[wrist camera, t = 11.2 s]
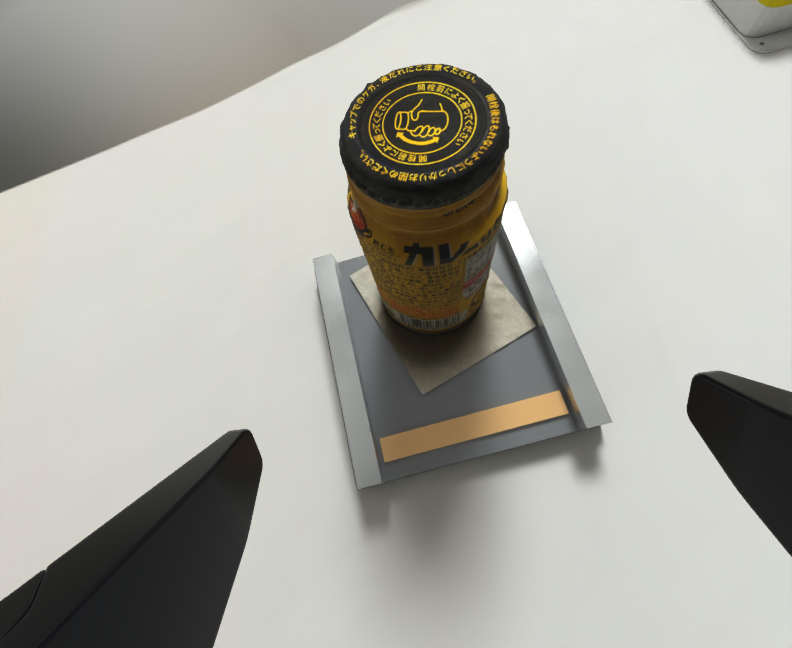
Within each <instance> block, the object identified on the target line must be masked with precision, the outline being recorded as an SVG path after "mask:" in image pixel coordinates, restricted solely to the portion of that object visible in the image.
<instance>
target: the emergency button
mask: <svg viewBox="0 0 792 648" xmlns="http://www.w3.org/2000/svg"><path fill="white" fill-rule="evenodd" d="M708 1H709V2H710V3H711V4H712V5H713V7H714V8H715V9H716V10H717V11H718V13H719V14H720V15H721V16H722V18H723V19H724V20H725V21H726V22H727V24H728V25H729V26H730V27H731V28H732V30H733V31H734V32H735V33H736V34H737V36H738V37H739V38H740V39H741V40H742V42H743V43H744V44H745V45H746V46H747V47H748V48H750V49H751V50H752V51H756V52H759V53H767V52H772V51H775V50H779V49H782V48H786V47H790V46H792V0H708Z"/></svg>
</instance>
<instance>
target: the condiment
mask: <svg viewBox="0 0 792 648" xmlns="http://www.w3.org/2000/svg"><path fill="white" fill-rule="evenodd" d="M509 129H510V127H509V126H508V122H507V115H506V111H505V105H504V103H503V101H502V100H501V99H500V97H499V96H498V94H497V93H496V92H495V91H494V90H493V88H492V87H491V86H490V85H489V84H487V83H486V82H485V81H484V80H483V79H481V78H479V77H478V76H477V75H476V74H474V73H471V72H469V71H465V70H461V69H459V68H456V67H453V66H450V65H444V64H425V65H423V64H421V65H415V66H410V67H406V68H401V69H397V70H394V71H392V72H390V73H389V74H387V75H384V76H381V77H380V78H379V79H377V80H376V81H374V82H373V83H367V85H366V87H365V89H364V90H363V91H362V92H361V93H360V94H359V95H358V96H357V97H356V98H355V99H354V100H353V101H352V103H351V104H350V107H349V109H348V111H347V112H346V115H345V118H344V120H343V121H342V123H341V125H340V140H339V147H340V155H341V158H342V163H343V165H344V167H345V170H346V172H347V178H348V183H349V185H348V195H347V200H348V210H349V214H350V217H351V219H352V223H353V226H354V229H355V231H356V234H357V236H358V239H359V242H360V245H361V246H362V249H363V252H364V255H365V257H366V259H367V262H368V265H367V266H365V267H364V268H362V269H360V270H358V271H357V272H355V273H353V274H352V275H350V277H351V279H352V280H353V282H354V284H355V285H356V287H357V289H358V290H359V292H360V294H361V295H362V297H363V298H364V300H365V302H366V303H367V305H368V307H369V308H370V310H371V312H372V313H373V315H374V317H375V318H376V320H377V321H378V323H379V325H380V326H381V328H382V330H383V331H384V333H385V335H386V336H387V338H388V339H389V341H390V343H391V344H392V346H393V348H394V349H395V351H396V353H397V354H398V356H399V357H400V359H401V361H402V362H403V364H404V366H405V367H406V369H407V371H408V372H409V374H410V375H411V377H412V379H413V380H414V382H415V384H416V385H417V387H418V388H419V390H420V392H421V393H422V395H423V394H425V393H427V392H429V391H430V390H432V389H434V388H435V387H437V386H439V385H441V384H442V383H444V382H445V381H447V380H449V379H450V378H452V377H454V376H455V375H457V374H458V373H460V372H462V371H464V370H466V369H467V368H469V367H470V366H472V365H474V364H475V363H477V362H479V361H480V360H482V359H483V358H485V357H487V356H489V355H491V354H492V353H493V352H495V351H496V350H498V349H500V348H501V347H503V346H505V345H506V344H508V343H510V342H511V341H513V340H515V339H516V338H518V337H519V336H521V335H522V334H524V333H526V332H527V331H529V330H531V329H532V328H534V327H536V325H535V323H534V322H533V321H532V320H531V318H530V317H529V315H528V314H527V313H526V312H525V310H524V309H523V308H522V307H521V306H520V304H519V303H518V302H517V300H516V299H515V297H514V296H513V295H512V294H511V293H510V292H509V290H508V289H507V288H506V286H505V285H504V284H503V282H502V281H501V280H500V279H499V278H498V276H497V275H496V274H495V273H494V271H493V270H492V269H491V262H492V259H493V256H494V251H495V246H496V242H497V240H498V234H499V230H500V227H501V223H502V219H503V213H504V209H505V205H506V202H507V199H508V188H507V177H506V174H505V171H504V166H505V160H504V157H505V155H504V154H505V152H506V150H507V149H508V148H509ZM481 309H482V312H480V311H481ZM481 317H482V318H481Z"/></svg>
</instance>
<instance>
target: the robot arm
mask: <svg viewBox="0 0 792 648" xmlns="http://www.w3.org/2000/svg"><path fill="white" fill-rule="evenodd" d="M687 414H688V417H689V419H690V421H691V422H692V424H693V425H694V427H695V428H696V430H697V431H698V433H699V434H700V436H701V437H702V439H703V440H704V442H705V443H706V445H707V446H708V448H709V449H710V451H711V452H712V454H713V455H714V457H715V458H716V460H717V461H718V463H719V464H720V466H721V467H722V469H723V470H724V472H725V473H726V475H727V476H728V478H729V479H730V480H731V482H732V483H733V485H734V486H735V487H736V489H737V490H738V491H739V493H740V494H741V495H742V497H743V498H744V499H745V500H746V502H747V503H748V504H749V505H750V507H751V508H752V509H753V510H754V512H755V513H756V514H757V515H758V516H759V518H760V519H761V520H762V521H763V523H764V524H765V525H766V526H767V527H768V529H769V530H770V531H771V532H772V534H773V535H774V536H775V537H776V538H777V540H778V541H779V542H780V543H781V545H782V546H783V547H784V548H785V550H786V551H787V552H788V553H789V554H790V556H791V557H792V392H790V391H786V390H783V389H780V388H776V387H773V386H770V385H766V384H763V383H760V382H757V381H753V380H750V379H747V378H743V377H740V376H737V375H733V374H730V373H727V372H723V371H710V372H702V373H698V374H696V375H694V377H693V378H692V382H691V387H690V392H689V398H688V403H687ZM262 465H263V464H262V458H261V455H260V452H259V450H258V447H257V445H256V442H255V440H254V437H253V435H252V433H251V432H250V430H248V429H241V430H233V431H229V432H227V433H226V434H224V435H223V436H222V437H220V438H219V439H218V440H216V441H215V442H213V443H212V444H211V445H209V446H208V447H207V448H205V449H204V450H203V451H201V452H200V453H199V454H197V455H196V456H195V457H193V458H192V459H191V460H189V461H188V462H187V463H185V464H184V465H183V466H181V467H180V468H179V469H177V470H176V471H175V472H173V473H172V474H171V475H169V476H168V477H167V478H165V479H164V480H163V481H161V482H160V483H159V484H157V485H156V486H155V487H153V488H152V489H151V490H149V491H148V492H147V493H145V494H144V495H142V496H141V497H140V498H138V499H137V500H136V501H134V502H133V503H132V504H130V505H129V506H128V507H126V508H125V509H124V510H122V511H121V512H120V513H118V514H117V515H116V516H114V517H113V518H112V519H110V520H109V521H108V522H106V523H105V524H104V525H102V526H101V527H100V528H98V529H97V530H96V531H94V532H93V533H92V534H90V535H89V536H88V537H86V538H85V539H84V540H82V541H81V542H80V543H78V544H77V545H75V546H74V547H73V548H71V549H70V550H69V551H67V552H66V553H65V554H63V555H62V556H61V557H59V558H58V559H57V560H55V561H54V562H53V563H51V564H50V565H49V566H48V567H47V569H46V570H42V571H40V572H39V573H38V574H36V575H35V576H34V577H32V578H31V579H30V580H28V581H27V582H26V583H24V584H23V585H22V586H20V587H19V588H18V589H16V590H15V591H14V592H12V593H11V594H10V595H8V596H7V597H6V598H4V599H3V600H1V601H0V648H213V646H214V643H215V639H216V636H217V633H218V630H219V627H220V624H221V621H222V618H223V614H224V611H225V608H226V605H227V602H228V599H229V596H230V593H231V589H232V586H233V583H234V580H235V577H236V574H237V571H238V567H239V564H240V561H241V558H242V555H243V552H244V548H245V545H246V542H247V538H248V534H249V529H250V525H251V520H252V515H253V511H254V506H255V501H256V496H257V492H258V487H259V482H260V477H261V473H262Z"/></svg>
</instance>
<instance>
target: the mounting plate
mask: <svg viewBox="0 0 792 648" xmlns="http://www.w3.org/2000/svg"><path fill="white" fill-rule="evenodd" d="M337 264H338V268H339V273H340V277H341V282H342V286H343V291H344V295H345V300H346V305H347V309H348V314H349V318H350V323H351V327H352V332H353V336H354V341H355V345H356V350H357V354H358V359H359V363H360V368H361V373H362V377H363V382H364V386H365V391H366V395H367V400H368V404H369V409H370V413H371V418H372V422H373V427H374V432H375V436H376V441H377V445H378V450H379V454H380V459H381V463H382V468H383V472H384V477H385V481H390V480H394V479H398V478H401V477H405V476H409V475H413V474H417V473H420V472H424V471H428V470H432V469H435V468H439V467H443V466H447V465H451V464H454V463H458V462H462V461H466V460H469V459H473V458H477V457H481V456H484V455H488V454H492V453H496V452H500V451H503V450H507V449H511V448H515V447H518V446H522V445H526V444H530V443H533V442H537V441H541V440H545V439H549V438H552V437H556V436H560V435H564V434H567V433H571V432H575V431H579V430H578V427H577V425H576V422H575V420H574V417H573V415H572V413H571V410H570V408H569V405H568V403H567V400H566V398H565V395H564V393H563V390H562V388H561V385H560V383H559V380H558V378H557V375H556V373H555V371H554V368H553V366H552V363H551V361H550V358H549V356H548V353H547V351H546V348H545V346H544V343H543V341H542V338H541V336H540V334H539V331H538V329H537V326H536V327H534V328H532V329H531V330H529V331H527V332H526V333H524V334H522V335H521V336H519V337H518V338H516V339H515V340H513V341H511V342H510V343H508V344H506V345H505V346H503V347H501V348H500V349H498V350H496V351H495V352H493V353H492V354H491V355H489V356H487V357H485V358H483V359H482V360H480V361H479V362H477V363H475V364H474V365H472V366H470V367H469V368H467V369H466V370H464V371H462V372H460V373H458V374H457V375H455V376H454V377H452V378H450V379H449V380H447V381H445V382H444V383H442V384H441V385H439V386H437V387H435V388H434V389H432V390H430V391H429V392H427V393H425V394H423V395H422V393H421V392H420V390H419V388H418V387H417V385H416V384H415V382H414V380H413V379H412V377H411V375H410V374H409V372H408V371H407V369H406V367H405V366H404V364H403V362H402V361H401V359H400V357H399V356H398V354H397V353H396V351H395V349H394V348H393V346H392V344H391V343H390V341H389V339H388V338H387V336H386V335H385V333H384V331H383V330H382V328H381V326H380V325H379V323H378V321H377V320H376V318H375V317H374V315H373V313H372V312H371V310H370V308H369V307H368V305H367V303H366V302H365V300H364V298H363V297H362V295H361V294H360V292H359V290H358V289H357V287H356V285H355V284H354V282H353V280H352V279H351V277H350V275H352V274H353V273H355V272H357V271H358V270H360V269H362V268H364V267H365V266H367V265H368V262H367V259H366V257H365V255H364V256H360V257H357V258H353V259H350V260H346V261H343V262H339V263H337ZM491 269H492V270H493V271H494V273H495V274H496V275H497V276H498V278H499V279H500V280H501V281H502V282H503V284H504V285H505V286H506V288H507V289H508V290H509V292H510V293H511V294H512V295H513V296H514V297H515V299H516V300H517V302H518V303H519V304H520V306H521V307H522V308H523V309H524V310H525V312H526V313H527V314H528V315H529V317H530V318H531V320H532V321H533V322H534V323H535V321H534V319H533V316H532V314H531V311H530V309H529V306H528V304H527V301H526V299H525V297H524V294H523V292H522V289H521V287H520V284H519V282H518V279H517V277H516V274H515V272H514V269H513V267H512V264H511V262H510V260H509V257H508V255H507V252H506V250H505V247H504V245H503V242H502V240H501V237H500V235H499V234H498V240H497V242H496V246H495V251H494V256H493V259H492V262H491ZM315 276H316V273H315ZM316 281H317V278H316ZM317 286H318V283H317ZM318 291H319V289H318ZM319 296H320V294H319ZM320 301H321V299H320ZM321 306H322V304H321ZM322 312H323V309H322ZM480 312H482V309H481V311H480ZM323 317H324V314H323ZM481 318H482V317H481ZM324 322H325V319H324ZM535 325H536V324H535ZM325 327H326V324H325ZM326 332H327V330H326ZM327 337H328V335H327ZM328 342H329V340H328ZM329 348H330V345H329ZM330 353H331V350H330ZM331 358H332V355H331ZM332 363H333V360H332ZM333 368H334V365H333ZM334 373H335V370H334ZM335 378H336V376H335ZM336 383H337V381H336ZM337 389H338V386H337ZM338 394H339V391H338ZM339 399H340V396H339ZM340 404H341V401H340ZM341 409H342V406H341ZM342 414H343V411H342ZM343 419H344V417H343ZM344 425H345V422H344ZM345 430H346V427H345ZM346 435H347V432H346ZM347 440H348V437H347ZM348 445H349V442H348ZM349 450H350V447H349ZM350 455H351V452H350ZM351 461H352V458H351ZM352 466H353V463H352ZM353 471H354V468H353ZM354 476H355V473H354ZM355 481H356V478H355ZM356 486H357V483H356ZM357 489H358V488H357Z"/></svg>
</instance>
